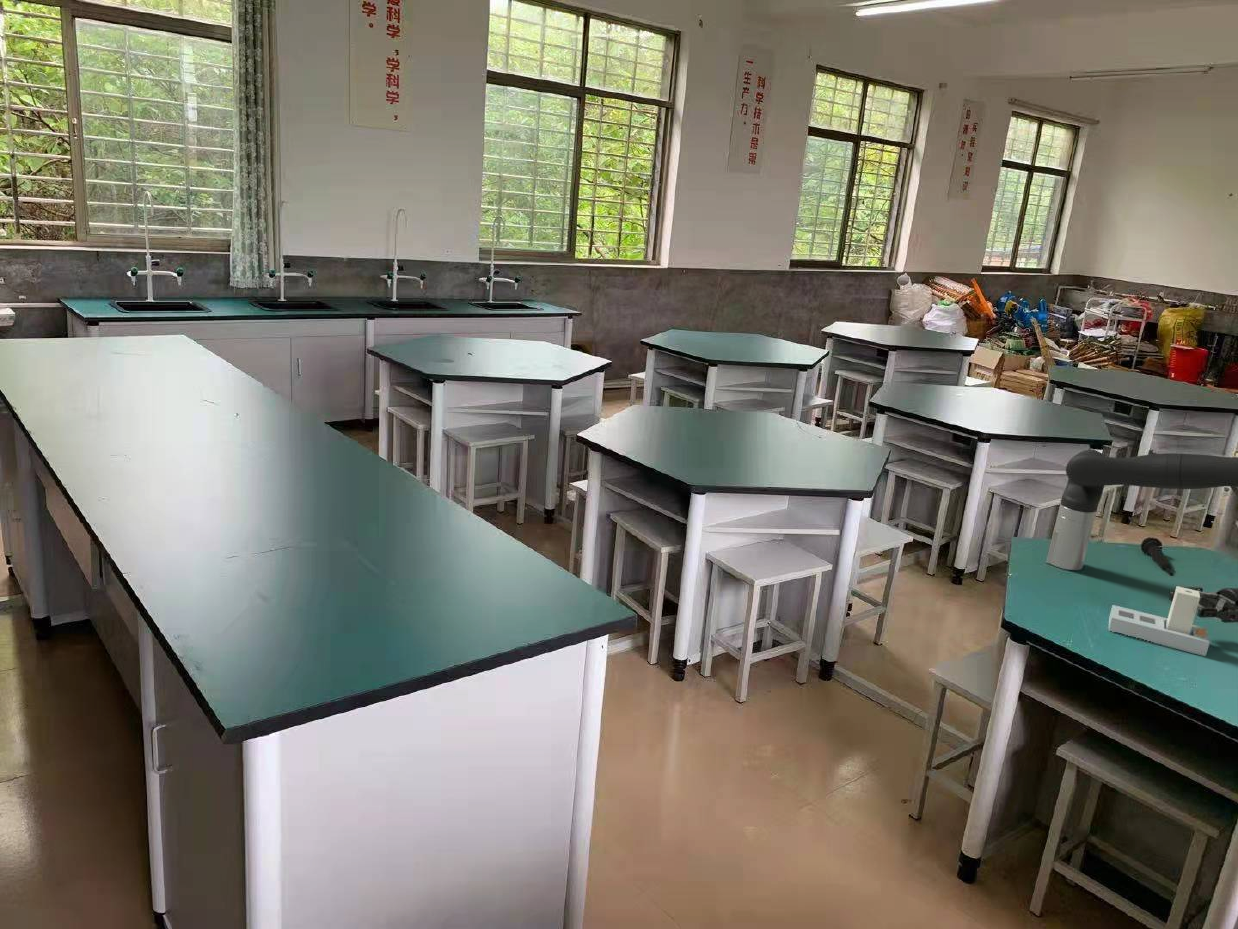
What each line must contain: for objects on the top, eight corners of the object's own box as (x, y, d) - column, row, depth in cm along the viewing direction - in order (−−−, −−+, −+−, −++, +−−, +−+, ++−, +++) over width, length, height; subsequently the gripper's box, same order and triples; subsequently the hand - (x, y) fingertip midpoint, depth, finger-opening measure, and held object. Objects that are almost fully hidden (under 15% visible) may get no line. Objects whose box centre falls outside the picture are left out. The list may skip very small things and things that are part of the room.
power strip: (1108, 631, 217) (1112, 615, 216) (1109, 617, 225) (1113, 602, 224) (1205, 656, 208) (1210, 640, 207) (1202, 641, 216) (1207, 626, 215)
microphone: (1173, 586, 258) (1151, 553, 277) (1186, 570, 256) (1162, 538, 274) (1156, 578, 259) (1134, 546, 277) (1168, 562, 256) (1145, 530, 274)
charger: (1164, 639, 214) (1177, 591, 210) (1163, 632, 218) (1176, 585, 214) (1186, 644, 212) (1200, 597, 208) (1185, 637, 216) (1198, 590, 212)
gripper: (1222, 577, 221) (1165, 577, 218) (1273, 602, 208) (1213, 603, 204) (1214, 605, 223) (1157, 605, 220) (1264, 632, 210) (1204, 633, 206)
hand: (1184, 604), depth 212 cm, fingers open, 8 cm apart
